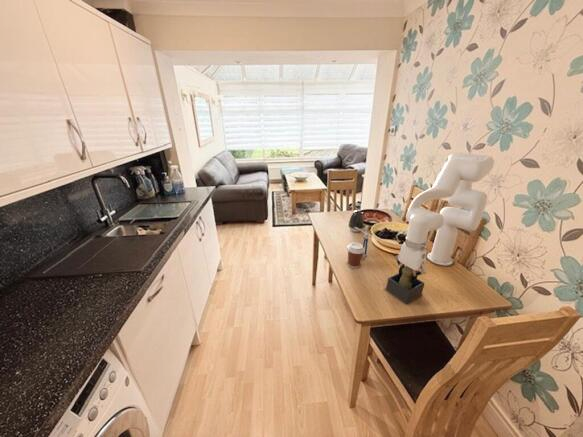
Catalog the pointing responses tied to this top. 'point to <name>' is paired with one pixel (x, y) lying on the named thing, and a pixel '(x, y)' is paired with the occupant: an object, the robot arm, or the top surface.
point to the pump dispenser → (356, 221)
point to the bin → (404, 289)
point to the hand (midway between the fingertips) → (406, 277)
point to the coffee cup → (355, 254)
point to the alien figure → (366, 239)
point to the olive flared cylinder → (406, 277)
